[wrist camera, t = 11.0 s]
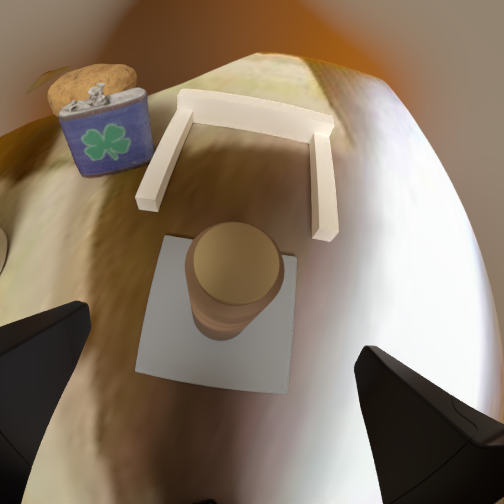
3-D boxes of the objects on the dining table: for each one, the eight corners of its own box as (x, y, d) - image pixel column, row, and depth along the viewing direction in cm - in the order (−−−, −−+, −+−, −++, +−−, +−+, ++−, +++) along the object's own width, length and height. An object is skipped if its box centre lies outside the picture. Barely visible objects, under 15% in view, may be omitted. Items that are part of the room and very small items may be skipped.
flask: (155, 149, 28) (145, 68, 19) (155, 167, 27) (144, 82, 17) (81, 164, 26) (54, 92, 16) (78, 183, 25) (45, 109, 15)
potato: (75, 99, 31) (65, 60, 24) (150, 97, 33) (147, 51, 25) (43, 139, 27) (26, 97, 20) (123, 139, 28) (112, 86, 21)
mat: (286, 393, 19) (287, 394, 19) (136, 371, 18) (134, 371, 18) (295, 258, 25) (297, 257, 24) (165, 237, 24) (164, 234, 23)
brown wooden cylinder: (206, 349, 20) (210, 330, 10) (184, 299, 21) (169, 233, 11) (257, 327, 21) (306, 286, 11) (233, 279, 23) (259, 203, 13)
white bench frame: (330, 241, 26) (348, 221, 23) (139, 209, 24) (130, 183, 21) (322, 138, 33) (332, 116, 30) (182, 112, 32) (182, 88, 28)
